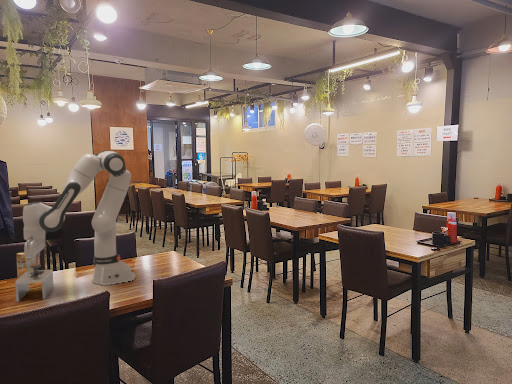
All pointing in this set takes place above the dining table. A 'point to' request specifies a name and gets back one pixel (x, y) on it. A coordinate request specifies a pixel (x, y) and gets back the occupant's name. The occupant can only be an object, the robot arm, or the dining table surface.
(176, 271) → the dining table surface
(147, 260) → the dining table surface
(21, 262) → the candy box
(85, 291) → the dining table surface
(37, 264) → the pink-topped grey pedestal
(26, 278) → the grey bridge stand
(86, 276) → the dining table surface
